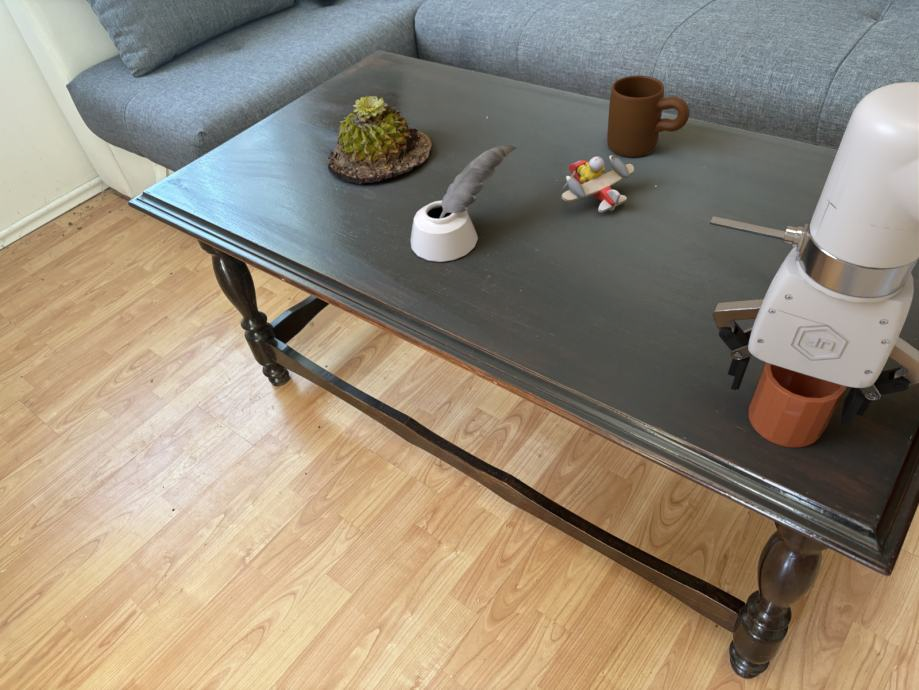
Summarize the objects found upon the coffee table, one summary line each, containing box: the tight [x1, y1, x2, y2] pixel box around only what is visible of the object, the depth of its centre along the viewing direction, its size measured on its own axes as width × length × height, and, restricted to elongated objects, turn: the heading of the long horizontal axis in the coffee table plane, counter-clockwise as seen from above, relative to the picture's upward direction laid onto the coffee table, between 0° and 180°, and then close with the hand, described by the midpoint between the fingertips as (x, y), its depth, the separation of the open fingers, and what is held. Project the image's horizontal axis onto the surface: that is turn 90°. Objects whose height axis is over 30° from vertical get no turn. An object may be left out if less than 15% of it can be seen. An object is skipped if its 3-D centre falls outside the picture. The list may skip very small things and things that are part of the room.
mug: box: [606, 74, 690, 158], centre depth 96 cm, size 12×8×9 cm, turn 50°
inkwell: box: [410, 144, 517, 263], centre depth 87 cm, size 9×18×10 cm, turn 131°
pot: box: [747, 362, 848, 449], centre depth 62 cm, size 7×7×7 cm
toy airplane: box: [560, 155, 635, 214], centre depth 89 cm, size 9×9×6 cm
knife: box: [709, 215, 798, 240], centre depth 83 cm, size 17×2×1 cm, turn 61°
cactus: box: [327, 95, 433, 185], centre depth 102 cm, size 17×16×10 cm
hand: (790, 396), depth 62 cm, fingers open, 9 cm apart
